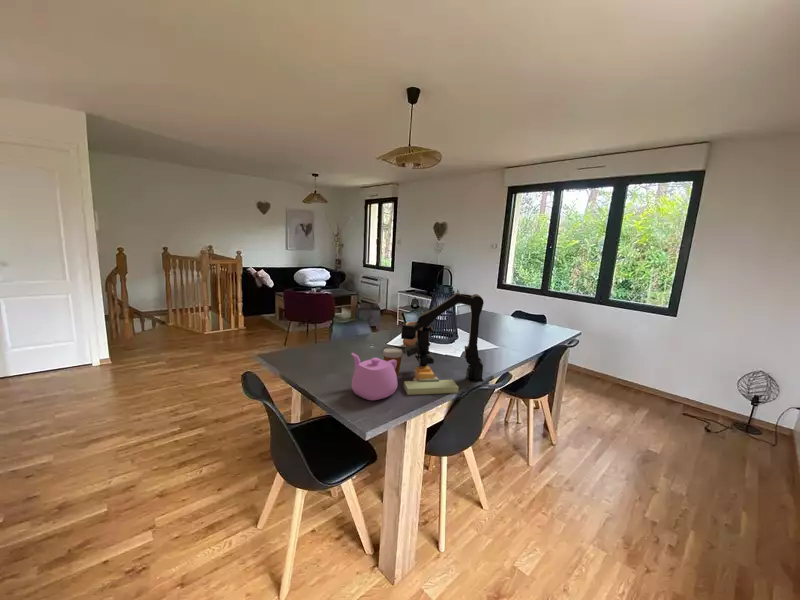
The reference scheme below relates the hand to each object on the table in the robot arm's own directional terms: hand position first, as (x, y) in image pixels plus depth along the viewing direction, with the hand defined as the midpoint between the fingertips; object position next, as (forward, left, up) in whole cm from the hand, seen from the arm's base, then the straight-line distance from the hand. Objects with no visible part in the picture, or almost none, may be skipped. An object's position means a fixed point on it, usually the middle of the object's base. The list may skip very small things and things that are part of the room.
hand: (421, 371), depth 171 cm
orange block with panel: (0, +6, -1) cm, 6 cm away
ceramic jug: (-7, -43, -2) cm, 43 cm away
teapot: (+25, +18, -2) cm, 31 cm away
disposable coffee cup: (+14, -1, -2) cm, 14 cm away
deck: (0, +14, -1) cm, 14 cm away
